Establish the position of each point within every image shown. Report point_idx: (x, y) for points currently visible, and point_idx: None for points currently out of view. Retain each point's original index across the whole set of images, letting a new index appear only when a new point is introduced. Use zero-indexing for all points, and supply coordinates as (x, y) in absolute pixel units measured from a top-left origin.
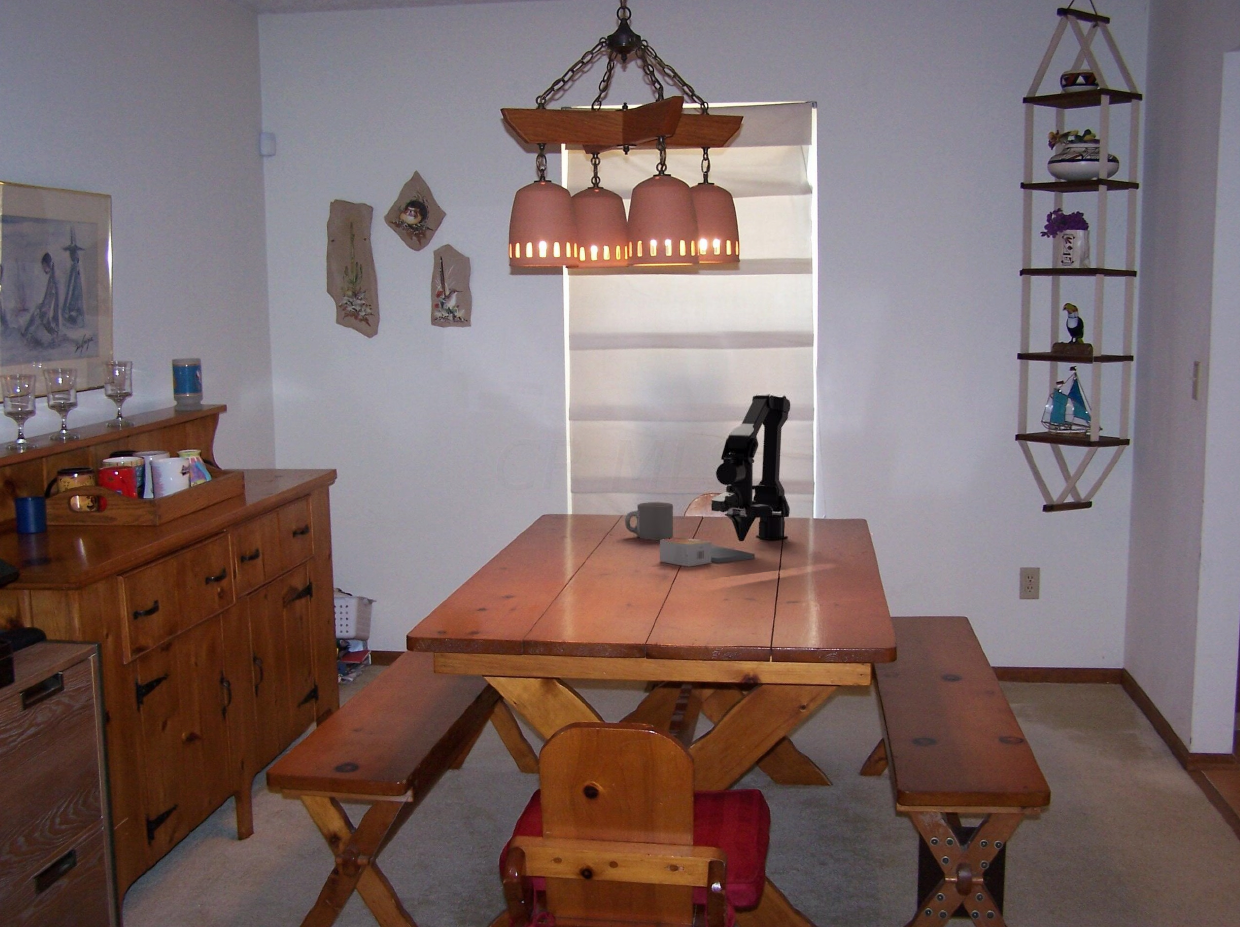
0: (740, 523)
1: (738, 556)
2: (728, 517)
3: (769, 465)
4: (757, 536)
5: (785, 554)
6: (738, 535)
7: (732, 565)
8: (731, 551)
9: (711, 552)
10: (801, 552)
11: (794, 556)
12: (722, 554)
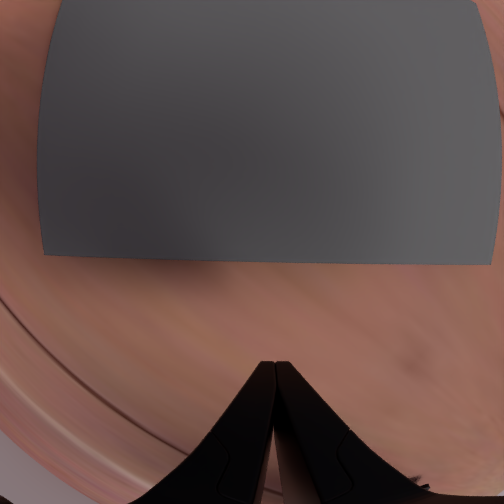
0: (184, 493)
1: (41, 123)
2: (490, 496)
3: None
4: (422, 487)
5: (117, 423)
6: (284, 386)
7: (12, 49)
8: (186, 178)
9: (244, 24)
10: (139, 468)
11: (69, 407)
12: (125, 49)
